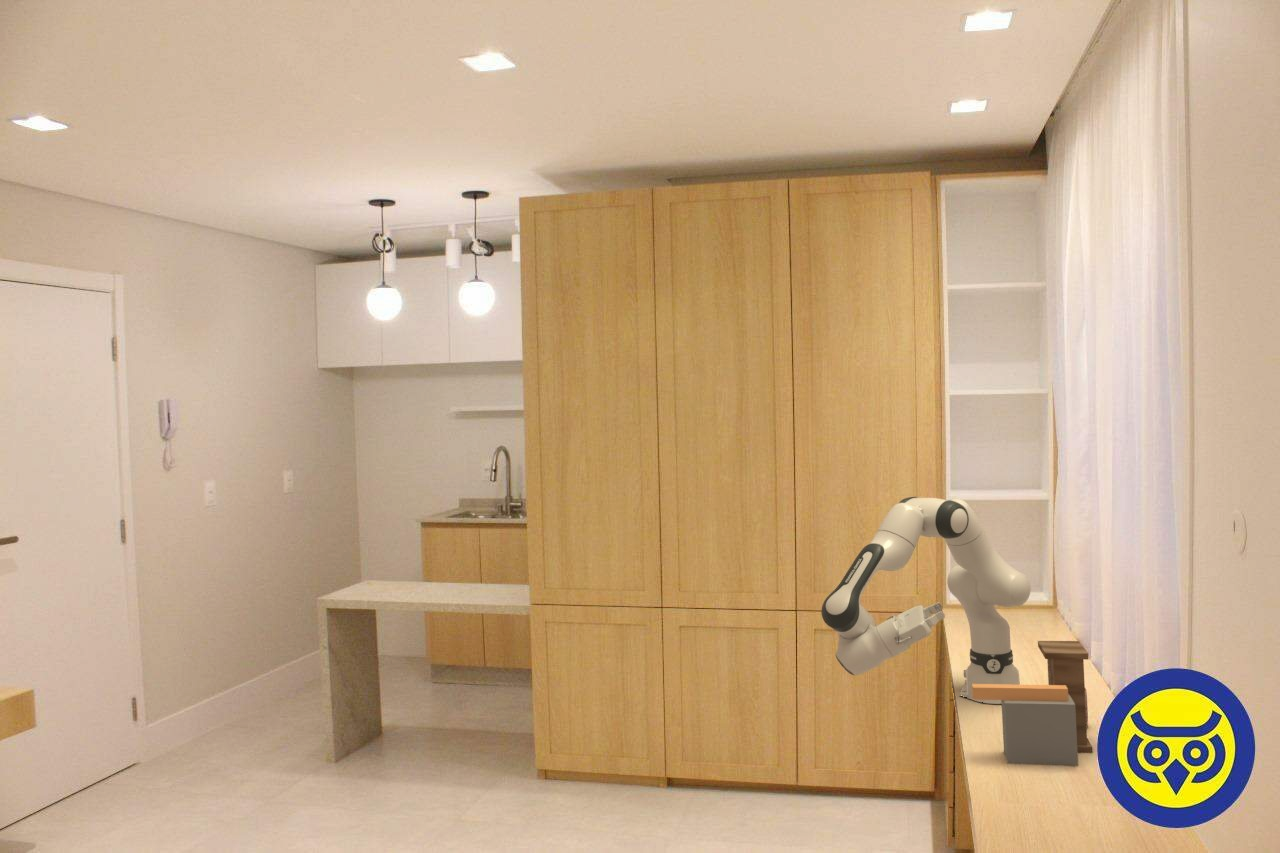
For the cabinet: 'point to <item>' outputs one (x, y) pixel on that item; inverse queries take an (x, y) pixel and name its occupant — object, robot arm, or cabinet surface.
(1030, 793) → the cabinet surface
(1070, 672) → the walnut stand
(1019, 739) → the grey step block
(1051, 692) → the orange square-ended block
